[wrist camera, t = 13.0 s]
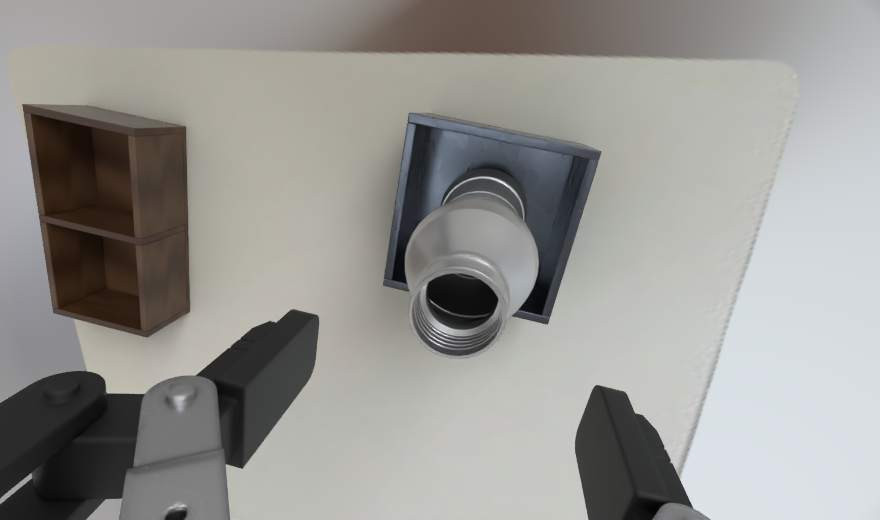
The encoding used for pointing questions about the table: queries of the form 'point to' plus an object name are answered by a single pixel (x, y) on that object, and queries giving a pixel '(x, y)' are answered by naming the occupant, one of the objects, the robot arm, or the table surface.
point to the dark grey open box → (515, 153)
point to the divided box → (111, 215)
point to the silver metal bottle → (470, 265)
